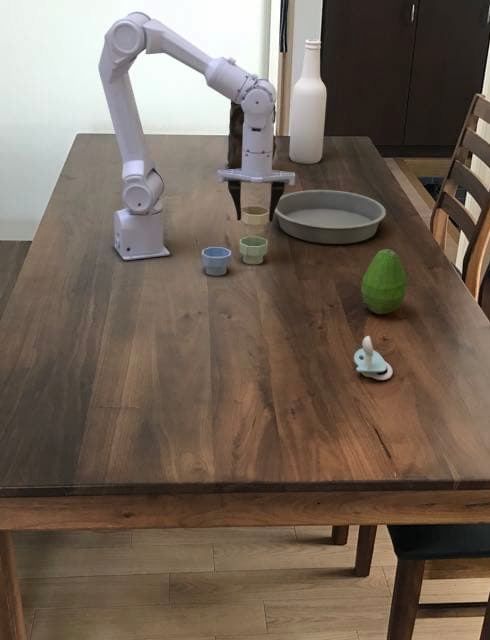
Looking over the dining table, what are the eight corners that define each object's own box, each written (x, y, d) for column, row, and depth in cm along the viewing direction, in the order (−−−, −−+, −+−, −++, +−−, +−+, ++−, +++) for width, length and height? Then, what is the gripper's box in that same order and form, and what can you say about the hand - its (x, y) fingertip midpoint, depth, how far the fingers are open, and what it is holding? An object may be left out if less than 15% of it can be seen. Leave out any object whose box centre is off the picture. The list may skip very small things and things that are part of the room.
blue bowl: (201, 277, 170) (201, 257, 168) (202, 265, 175) (202, 246, 173) (230, 277, 170) (230, 258, 168) (230, 266, 175) (231, 247, 173)
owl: (276, 167, 232) (280, 87, 222) (269, 182, 221) (273, 99, 211) (228, 163, 233) (230, 84, 223) (219, 178, 223) (221, 95, 212)
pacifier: (388, 362, 144) (351, 360, 144) (394, 327, 141) (356, 325, 141) (395, 385, 138) (356, 383, 138) (401, 349, 135) (362, 347, 134)
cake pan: (355, 204, 209) (357, 185, 207) (403, 242, 190) (405, 221, 187) (256, 212, 202) (257, 192, 200) (295, 252, 183) (296, 231, 180)
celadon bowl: (238, 265, 176) (239, 246, 174) (239, 254, 180) (239, 236, 178) (267, 266, 176) (268, 247, 174) (266, 255, 180) (267, 236, 178)
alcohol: (327, 158, 241) (336, 40, 225) (311, 166, 234) (320, 44, 218) (299, 152, 244) (306, 36, 229) (282, 160, 238) (289, 40, 222)
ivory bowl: (240, 234, 172) (240, 214, 170) (240, 224, 177) (240, 205, 175) (268, 235, 172) (269, 215, 170) (268, 225, 177) (269, 206, 175)
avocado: (368, 323, 156) (376, 259, 149) (352, 304, 162) (358, 242, 156) (410, 319, 158) (419, 256, 151) (392, 301, 164) (401, 239, 158)
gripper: (218, 153, 163) (216, 225, 170) (297, 156, 163) (292, 227, 170) (219, 143, 169) (217, 212, 176) (295, 146, 169) (291, 215, 176)
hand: (254, 219), depth 173 cm, fingers closed on ivory bowl, 5 cm apart
